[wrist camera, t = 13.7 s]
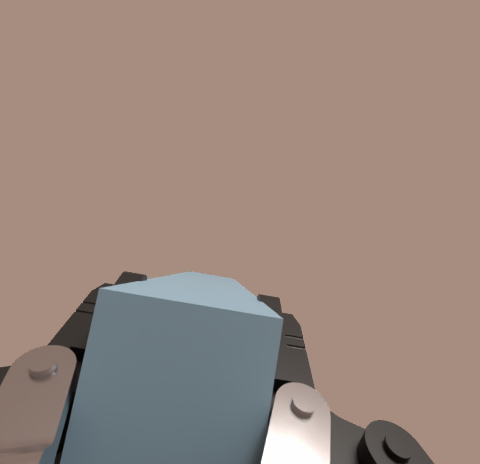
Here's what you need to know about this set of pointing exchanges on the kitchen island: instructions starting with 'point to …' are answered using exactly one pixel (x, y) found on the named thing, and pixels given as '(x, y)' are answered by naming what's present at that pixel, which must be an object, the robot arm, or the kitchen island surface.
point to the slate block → (175, 374)
